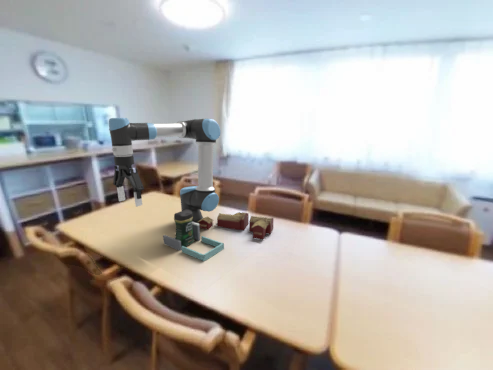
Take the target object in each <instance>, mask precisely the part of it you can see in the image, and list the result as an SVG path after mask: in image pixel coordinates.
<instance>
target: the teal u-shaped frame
mask: <svg viewBox="0 0 493 370" xmlns="http://www.w3.org/2000/svg"><path fill="white" fill-rule="evenodd" d="M200 241H201V242H202V243H205V244H207V245H210V246H212V247H213V246H214V248H211V249H210V250H209V251H207V252H205V253H201V252H199V251H197V250H193V249H191V248H188V247H187V246H186V247H184V246H182V247H181V248H182V250H181V253H183V254H186V255H188V256H191V257H193V258H195V259H197V260H199V261H202V262H205V261H207V260H209V259H210V258H211V257H213V256H215V255H216V254H218V253H220V252H221V251H222V250H224V249H225V244H224V242H221V241H219V240H215V239H212V238H209V237H206V236H201V235H200Z"/></svg>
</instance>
